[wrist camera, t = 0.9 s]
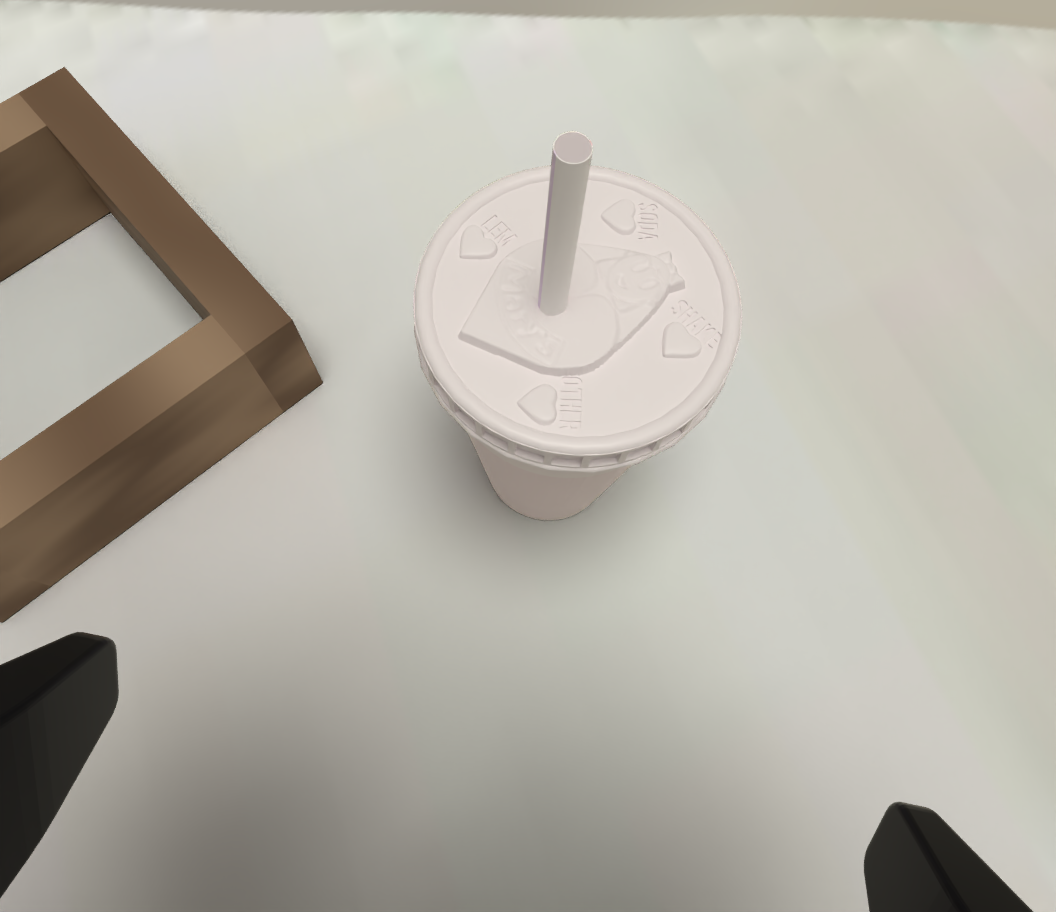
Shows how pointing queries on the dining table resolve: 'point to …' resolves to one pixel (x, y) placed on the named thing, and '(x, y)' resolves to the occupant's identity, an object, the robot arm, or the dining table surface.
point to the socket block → (154, 385)
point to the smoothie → (574, 326)
